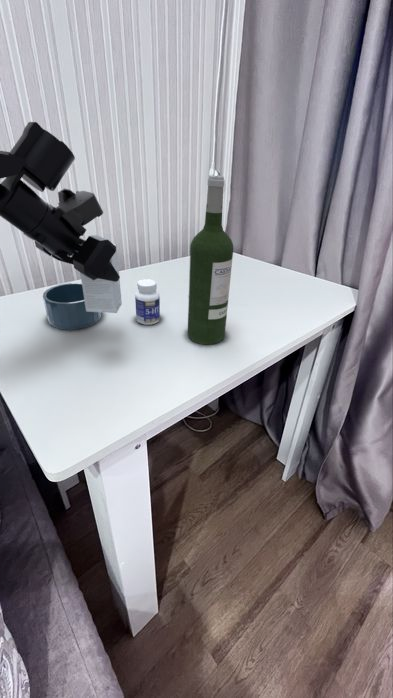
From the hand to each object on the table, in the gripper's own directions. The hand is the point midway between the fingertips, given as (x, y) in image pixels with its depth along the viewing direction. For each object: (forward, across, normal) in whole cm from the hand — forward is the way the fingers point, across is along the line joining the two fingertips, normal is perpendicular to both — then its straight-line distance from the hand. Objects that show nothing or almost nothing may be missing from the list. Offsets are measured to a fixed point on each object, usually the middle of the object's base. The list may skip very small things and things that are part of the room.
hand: (107, 273), depth 61 cm
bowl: (+8, +12, +11) cm, 18 cm away
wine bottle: (+20, -12, -1) cm, 23 cm away
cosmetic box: (+4, 0, +6) cm, 7 cm away
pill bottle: (+16, +1, +2) cm, 17 cm away
